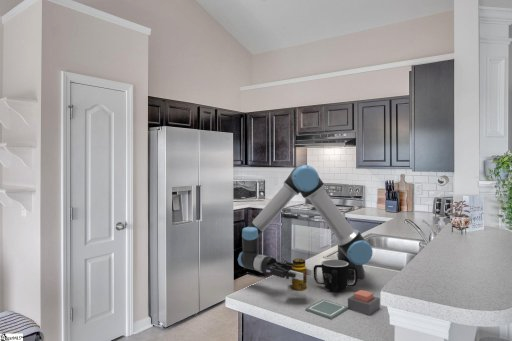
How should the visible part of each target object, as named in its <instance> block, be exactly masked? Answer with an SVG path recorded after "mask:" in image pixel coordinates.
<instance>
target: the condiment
mask: <svg viewBox="0 0 512 341" xmlns="http://www.w3.org/2000/svg"><path fill="white" fill-rule="evenodd" d="M292 263H293V266H292V271H295V272H300V273H303V280H298V279H295V278H291V283H292V284H291V283H288V284H287V285H286V286H287V287H286V291H287V292H288V291H289V292H308V291H309V288H308V284H307V283H308V282H307V275H306V268H307V266H306V260H305V259H303V258H294V259H293V260H292Z"/></svg>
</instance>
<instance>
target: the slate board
mask: <svg viewBox="0 0 512 341" xmlns="http://www.w3.org/2000/svg"><path fill="white" fill-rule="evenodd" d="M348 310H349V309H348V305H347V306H346V305H343V304H340V303H338V302H333V301H331V300H327V299H320V300H318V301H317V302H315V303H313V304H312V305H309V306H307V307H306V308H305V311H306V312H309V313H312V314H315V315H317V316H319V317H323V318H326V319H329V320H333V319H334V318H336V317H338V316H340V315H341V314H342V313H344V312H346V311H348Z"/></svg>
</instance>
